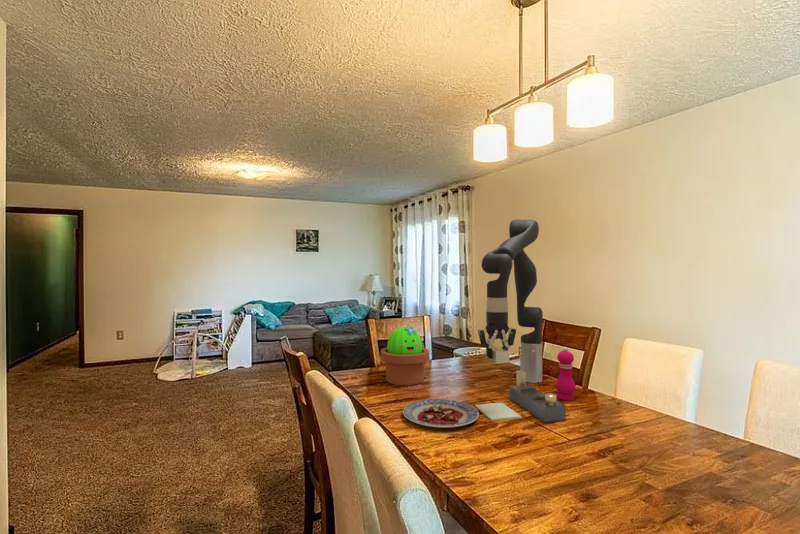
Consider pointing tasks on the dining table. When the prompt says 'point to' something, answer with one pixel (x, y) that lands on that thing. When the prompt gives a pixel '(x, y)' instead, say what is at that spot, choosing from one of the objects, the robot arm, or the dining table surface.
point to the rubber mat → (497, 411)
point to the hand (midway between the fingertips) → (497, 357)
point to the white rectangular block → (499, 355)
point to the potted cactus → (404, 357)
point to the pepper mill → (565, 376)
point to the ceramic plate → (440, 413)
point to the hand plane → (536, 400)
